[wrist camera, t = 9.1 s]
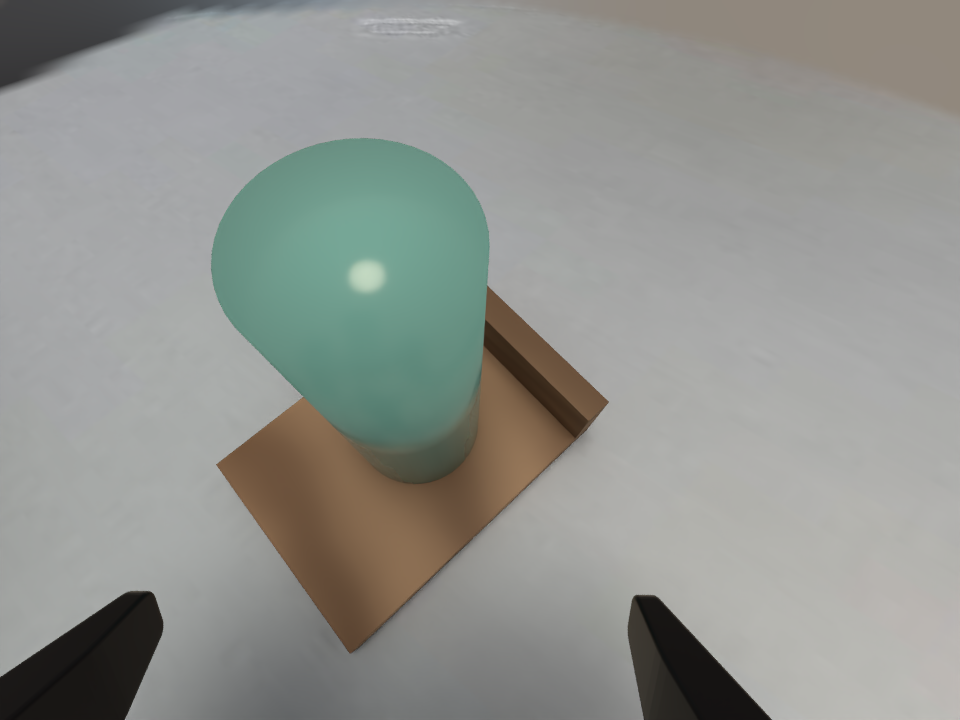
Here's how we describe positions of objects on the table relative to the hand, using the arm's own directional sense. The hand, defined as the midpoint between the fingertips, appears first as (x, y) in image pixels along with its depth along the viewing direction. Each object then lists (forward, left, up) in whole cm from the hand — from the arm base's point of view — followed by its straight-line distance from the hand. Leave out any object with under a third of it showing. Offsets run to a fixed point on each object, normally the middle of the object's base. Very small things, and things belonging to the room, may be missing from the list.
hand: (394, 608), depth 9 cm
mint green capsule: (+4, +6, -12) cm, 14 cm away
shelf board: (+3, +5, -14) cm, 15 cm away
